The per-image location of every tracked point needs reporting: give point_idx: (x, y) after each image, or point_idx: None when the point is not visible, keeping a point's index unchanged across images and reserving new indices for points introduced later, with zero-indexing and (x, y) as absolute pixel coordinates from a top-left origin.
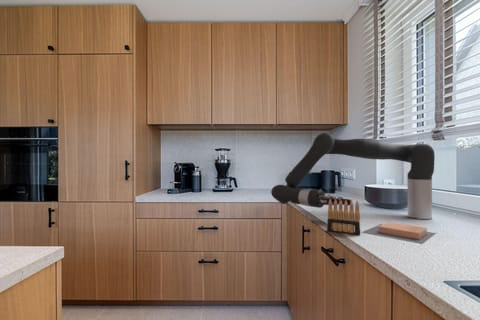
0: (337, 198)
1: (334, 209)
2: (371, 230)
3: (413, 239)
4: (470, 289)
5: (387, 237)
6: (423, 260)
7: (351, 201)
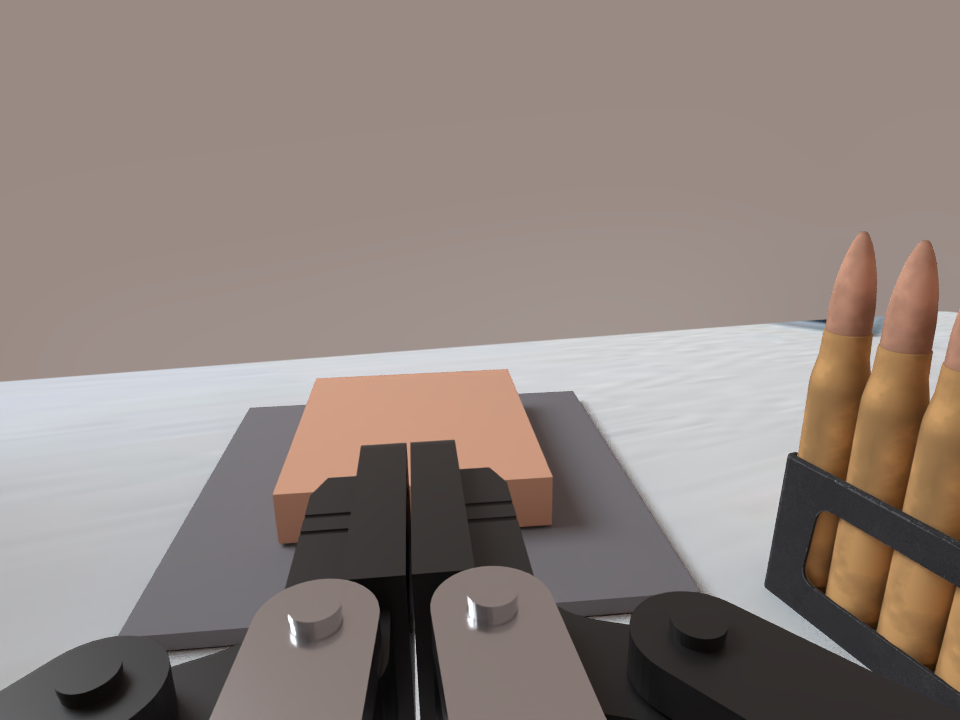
0: (555, 624)
1: None
2: None
3: None
4: None
5: (622, 470)
6: (770, 370)
7: (928, 253)
